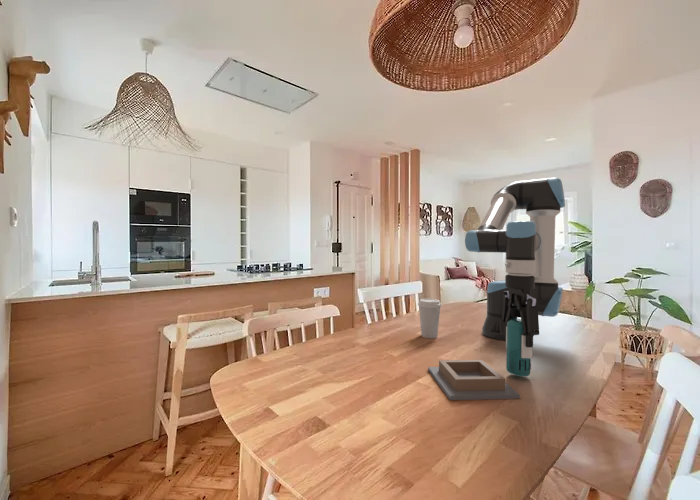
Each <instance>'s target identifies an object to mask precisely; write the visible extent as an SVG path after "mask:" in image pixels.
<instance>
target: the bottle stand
mask: <svg viewBox="0 0 700 500" xmlns="http://www.w3.org/2000/svg"><path fill="white" fill-rule="evenodd" d="M427 370H428V372H429V374H430V375H431V376H432V378H433V379H434V380H435V382H436V383H437V385H438V386H439V387H440V389H441V390H442V391H443V392H444V394H445V395H446V397H447V399H448V400H449V401H464V400H465V401H467V400H510V399H511V400H513V399H514V400H516V399H517V398H520V399H521V394H520V393H519V392H518V391H516V390H515V389H514V388H513V387H512V386H510V384H508V383H507V382H506V378H505V377H504V376H503V375H501V374H500V373H499V372H497V371H496V370H495V369H494V368H493V367H491V366H490V365H489V364H488V363H486V362H485V361H484V360H483V359H449V360H448V359H446V360H445V359H439V360H438V366H427ZM517 400H518V399H517Z"/></svg>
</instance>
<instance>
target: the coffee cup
mask: <svg viewBox="0 0 700 500" xmlns="http://www.w3.org/2000/svg"><path fill="white" fill-rule="evenodd" d="M417 306H418V308H419V309H418V311H419V320H420V334H421V335H420V336H421V337H422V336H423V337H422V338H426V339H436V338H438V333H439V323H440V316H441V307H442V303H441V302H440V300H439V299H436V298H421V299H419V302H418V303H417Z"/></svg>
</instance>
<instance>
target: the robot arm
mask: <svg viewBox="0 0 700 500" xmlns="http://www.w3.org/2000/svg"><path fill="white" fill-rule="evenodd" d="M565 207H566V201H565V192H564V187H563V181H562V180H561V178H559V177H545V178H538V179H529V180H519V181H517V180H516V181H514V182H511V183H509V184H507V185H505V186H504V187H501V188H500V189H499V190H498V191H497V192H496V193H494V195H493V196H492V198H491V200H490V207H489V209H488V210H487V212H486V214H485V216H484V217H483V219H482V220H481V223H480V225H479V226H478V228H477V229H472V230H471V229H470V230H468V231H467V232H466V233H465V237H464V245H465V249H466V251H468V252H471V253H473V252H475V253H505V263H504V265H505V273H507V274H506V275H505V279H504V280H495V281H490V282H489V283H488V284H487V291H486V317H485V319H484V322H483V325H482V327H481V335H484V337H487V338H491V339H495V340H499V341H500V340H502V341H505V349H507V322H508V321H510V320H511V319H518V317H514V316H511V310H512V308H517V309H518V311H520V316H521V317H520V319H521V321H522V326H523V332H524V333H521V334H522V344H521V357H522V358H531V359H533V347H534V336H539V335H540V326H539V325H540V322H539V321H540V320H539V316H541V317H549V318H550V317H552V318H553V317H557V315H558V314H559V311H560V308H561V303H562V300H563V299H562V297H563V287H561V286H559V281H557V280H556V279H555V244H556V241H555V240H556V216H557V215H559V214H560V213H561V209H562V208H565ZM516 210H525V214H526V215H528V216H527V217H529V220H516V221H515V220H514V221H508V222H507V220H508V218H509V216H510V214H511V213H512V212H514V211H516ZM506 222H507V224H506ZM505 225H506V229H504V227H505Z"/></svg>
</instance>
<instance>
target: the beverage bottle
mask: <svg viewBox="0 0 700 500" xmlns="http://www.w3.org/2000/svg"><path fill="white" fill-rule="evenodd" d="M511 316H514V317H517V319H511V320H510V321H508V322H507V348H506V362H505V366H506V367H505V369H506V371H507V373H510V374H511V375H515V376H518V377H528V376H530V375H531V370H532V358H522V357H521V344H522V334H521V333H524V332H523V326H522V321H521V316H520V311H518V309H517V308H512V310H511Z"/></svg>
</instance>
